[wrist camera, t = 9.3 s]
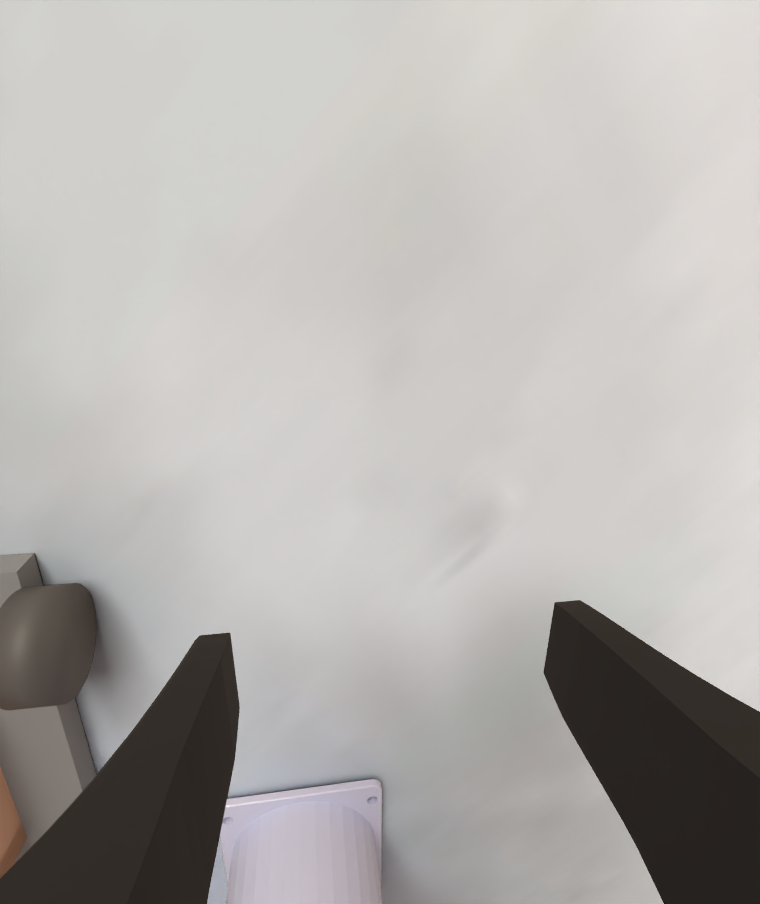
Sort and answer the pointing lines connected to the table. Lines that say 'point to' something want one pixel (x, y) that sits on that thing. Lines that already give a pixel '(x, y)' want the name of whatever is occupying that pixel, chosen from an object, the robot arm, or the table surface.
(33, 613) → the chassis
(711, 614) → the table surface
